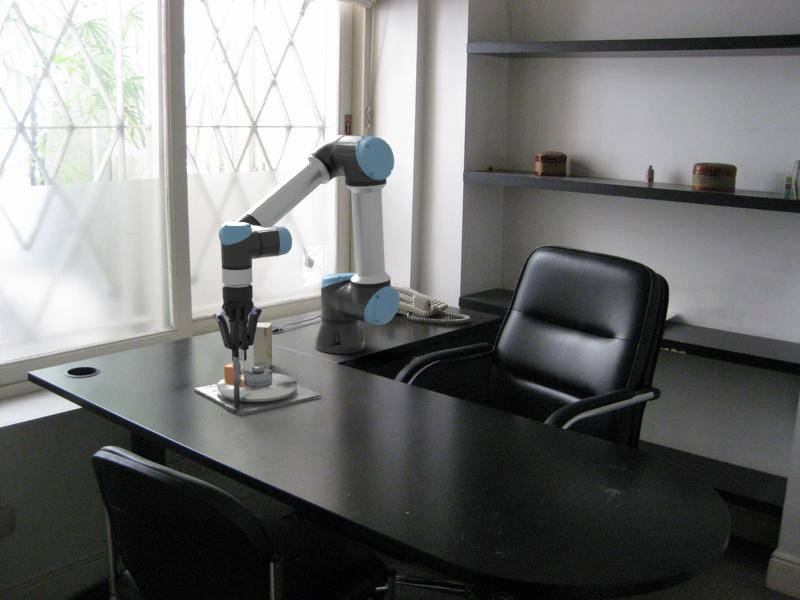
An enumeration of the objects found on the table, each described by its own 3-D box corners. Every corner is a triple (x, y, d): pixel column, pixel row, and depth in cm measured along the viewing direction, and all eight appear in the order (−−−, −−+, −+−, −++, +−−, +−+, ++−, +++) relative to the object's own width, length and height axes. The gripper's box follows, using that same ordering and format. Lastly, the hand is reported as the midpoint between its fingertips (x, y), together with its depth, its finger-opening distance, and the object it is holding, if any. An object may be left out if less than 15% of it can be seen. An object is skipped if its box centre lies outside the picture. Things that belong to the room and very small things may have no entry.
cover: (251, 377, 221) (251, 362, 221) (276, 381, 219) (276, 365, 219) (239, 385, 215) (239, 369, 214) (264, 388, 213) (264, 372, 212)
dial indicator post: (236, 404, 210) (236, 353, 207) (248, 410, 206) (247, 358, 203) (222, 407, 207) (221, 355, 204) (233, 413, 203) (233, 361, 200)
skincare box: (268, 370, 238) (268, 327, 235) (253, 369, 238) (252, 327, 235) (272, 363, 244) (272, 322, 242) (257, 363, 244) (257, 321, 242)
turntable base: (271, 375, 233) (271, 371, 233) (320, 397, 216) (320, 393, 216) (194, 391, 218) (194, 387, 218) (241, 416, 201) (240, 411, 201)
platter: (241, 373, 229) (240, 354, 228) (309, 382, 223) (309, 362, 222) (202, 395, 211) (201, 374, 209) (275, 406, 205) (275, 384, 204)
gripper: (251, 278, 223) (253, 365, 228) (207, 284, 214) (210, 374, 220) (267, 283, 217) (268, 372, 222) (222, 289, 209) (225, 381, 214)
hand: (239, 373), depth 221 cm, fingers closed
